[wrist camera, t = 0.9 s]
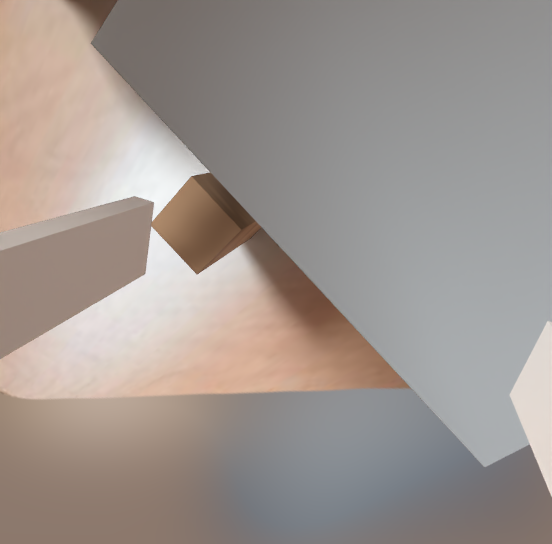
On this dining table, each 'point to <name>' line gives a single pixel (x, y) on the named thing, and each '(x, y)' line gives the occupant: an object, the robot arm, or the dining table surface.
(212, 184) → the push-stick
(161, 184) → the dining table surface
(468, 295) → the cabinet
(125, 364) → the dining table surface
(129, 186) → the dining table surface
